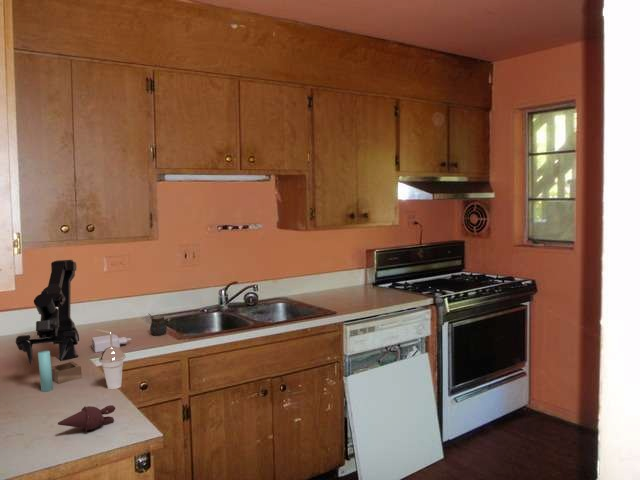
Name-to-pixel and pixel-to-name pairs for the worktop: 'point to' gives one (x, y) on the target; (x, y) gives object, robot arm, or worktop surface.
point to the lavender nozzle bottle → (107, 342)
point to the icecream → (89, 418)
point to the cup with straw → (112, 364)
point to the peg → (45, 371)
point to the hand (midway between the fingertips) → (45, 362)
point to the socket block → (66, 372)
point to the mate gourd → (158, 325)
